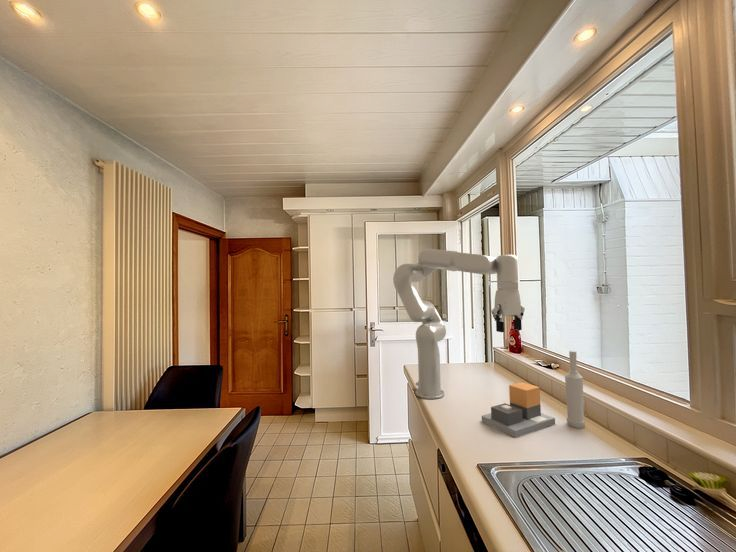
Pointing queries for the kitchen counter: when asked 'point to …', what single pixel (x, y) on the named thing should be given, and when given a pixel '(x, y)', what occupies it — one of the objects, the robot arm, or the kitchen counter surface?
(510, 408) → the toggle near
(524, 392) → the orange cube-like block
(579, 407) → the bottle
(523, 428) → the panel
